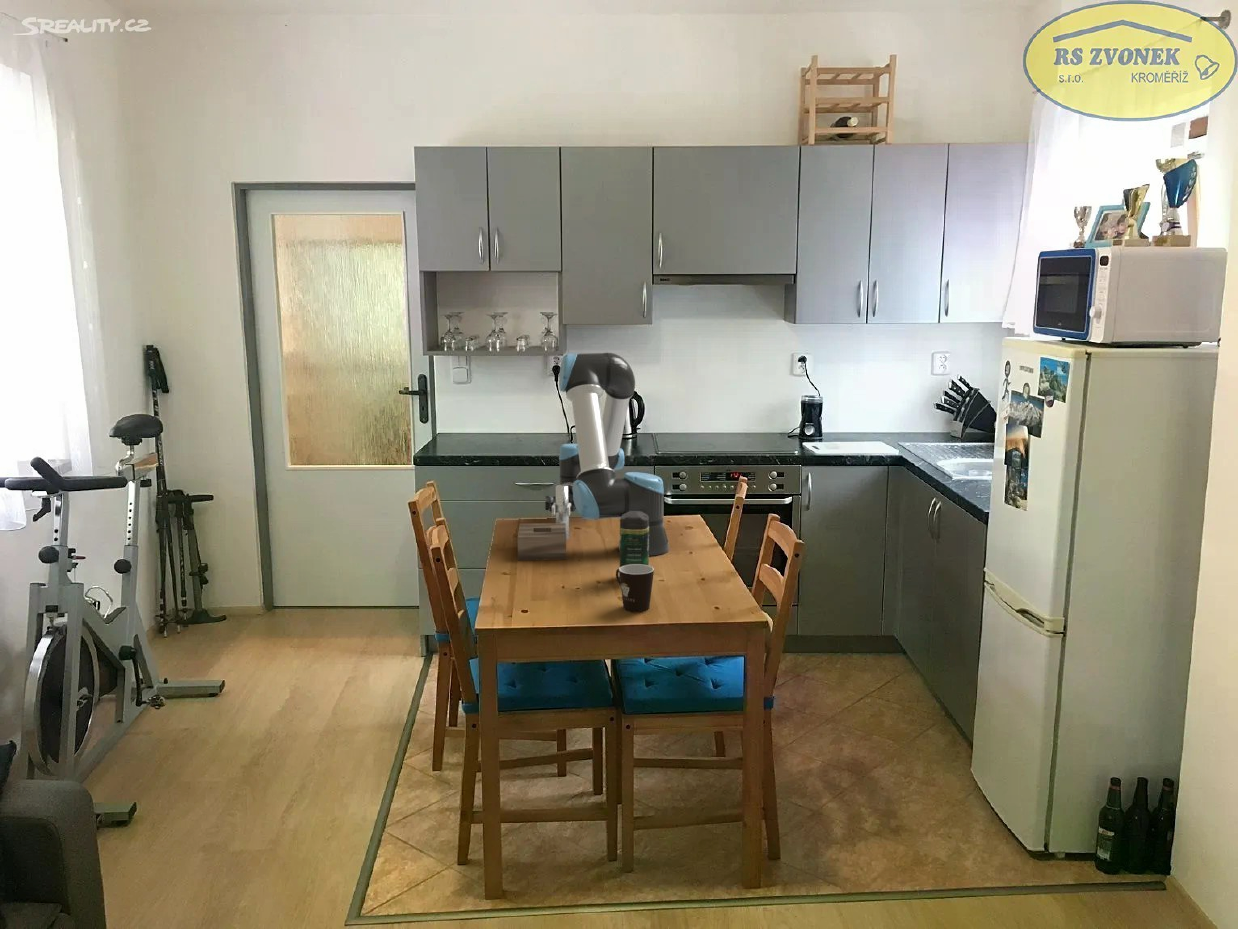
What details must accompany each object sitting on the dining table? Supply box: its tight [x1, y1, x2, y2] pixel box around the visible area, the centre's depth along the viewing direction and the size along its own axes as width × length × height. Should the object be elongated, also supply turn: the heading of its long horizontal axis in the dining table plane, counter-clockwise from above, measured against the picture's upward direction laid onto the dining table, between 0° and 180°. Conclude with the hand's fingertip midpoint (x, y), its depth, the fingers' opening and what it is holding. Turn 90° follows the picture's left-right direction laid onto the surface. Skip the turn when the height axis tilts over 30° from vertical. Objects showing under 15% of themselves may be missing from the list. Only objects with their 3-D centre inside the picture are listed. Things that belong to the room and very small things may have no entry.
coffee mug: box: [615, 564, 655, 613], centre depth 239 cm, size 12×9×10 cm
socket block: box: [517, 522, 567, 561], centre depth 289 cm, size 16×14×7 cm
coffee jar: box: [619, 511, 650, 568], centre depth 261 cm, size 10×8×19 cm
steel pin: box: [555, 484, 570, 541], centre depth 304 cm, size 4×4×17 cm
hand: (560, 511), depth 299 cm, fingers closed on steel pin, 4 cm apart
